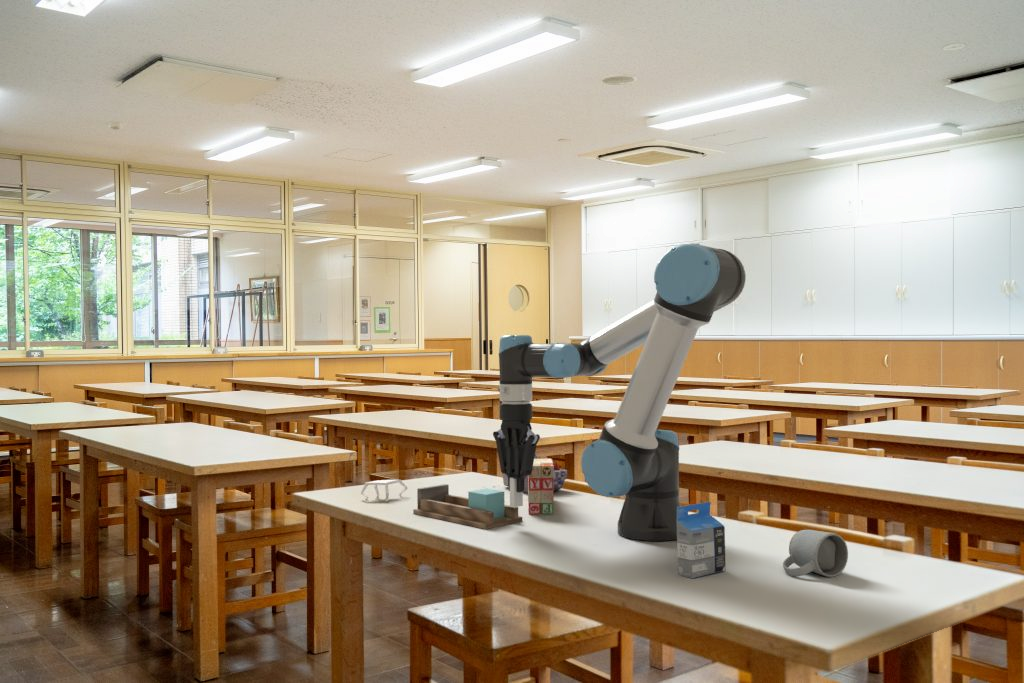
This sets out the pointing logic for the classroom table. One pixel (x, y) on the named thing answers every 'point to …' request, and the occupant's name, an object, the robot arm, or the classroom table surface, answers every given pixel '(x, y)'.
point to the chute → (459, 509)
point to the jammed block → (487, 501)
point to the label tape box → (699, 542)
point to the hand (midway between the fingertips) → (516, 505)
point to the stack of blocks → (541, 487)
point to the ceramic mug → (816, 553)
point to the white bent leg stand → (386, 483)
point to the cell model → (558, 478)
